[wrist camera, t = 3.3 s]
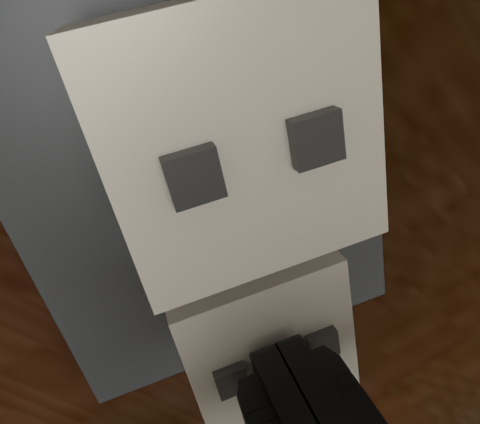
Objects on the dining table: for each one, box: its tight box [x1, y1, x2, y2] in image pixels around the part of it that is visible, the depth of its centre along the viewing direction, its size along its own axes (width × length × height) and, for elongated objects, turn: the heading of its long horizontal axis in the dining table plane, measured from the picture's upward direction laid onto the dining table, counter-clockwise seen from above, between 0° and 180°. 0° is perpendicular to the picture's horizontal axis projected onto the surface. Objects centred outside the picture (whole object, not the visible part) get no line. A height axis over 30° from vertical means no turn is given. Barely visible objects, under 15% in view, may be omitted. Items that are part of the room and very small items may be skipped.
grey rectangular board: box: [0, 0, 385, 404], centre depth 14 cm, size 13×22×1 cm, turn 12°
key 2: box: [45, 0, 388, 316], centre depth 9 cm, size 5×5×4 cm
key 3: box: [165, 250, 360, 424], centre depth 14 cm, size 5×5×4 cm
